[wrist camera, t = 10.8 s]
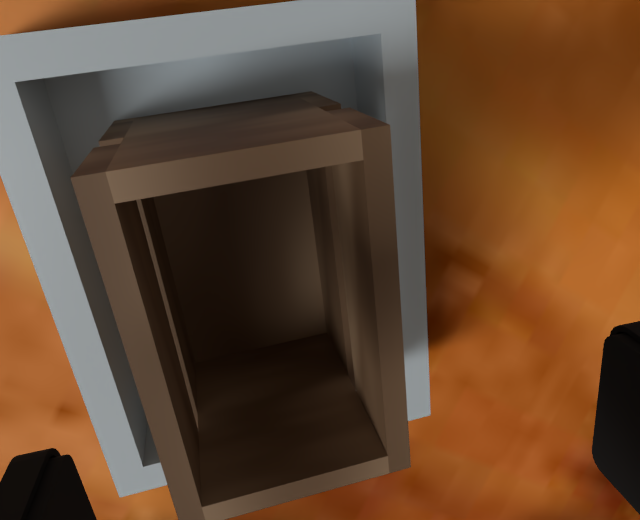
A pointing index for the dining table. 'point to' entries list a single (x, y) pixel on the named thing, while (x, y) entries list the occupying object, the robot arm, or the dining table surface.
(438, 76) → the dining table surface
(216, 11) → the grey crate
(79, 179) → the walnut crate
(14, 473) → the robot arm
